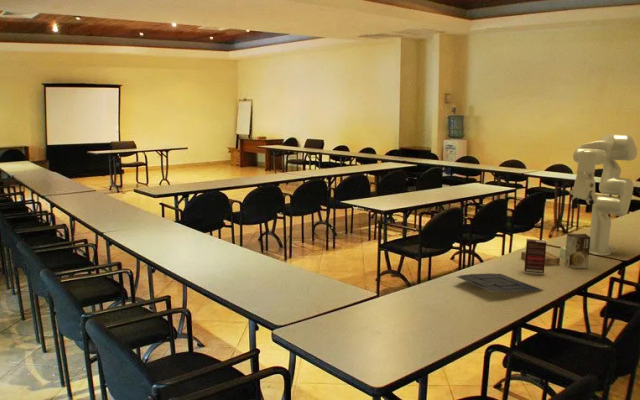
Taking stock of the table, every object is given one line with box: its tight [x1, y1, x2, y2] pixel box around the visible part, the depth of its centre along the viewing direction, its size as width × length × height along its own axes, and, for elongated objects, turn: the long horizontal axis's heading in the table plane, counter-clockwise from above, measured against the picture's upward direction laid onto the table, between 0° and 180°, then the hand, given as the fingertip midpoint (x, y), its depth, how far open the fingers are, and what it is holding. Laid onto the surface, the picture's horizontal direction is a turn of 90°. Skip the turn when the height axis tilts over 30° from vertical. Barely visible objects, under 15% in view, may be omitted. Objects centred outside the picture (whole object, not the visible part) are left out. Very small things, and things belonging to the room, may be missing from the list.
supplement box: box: [523, 238, 547, 276], centre depth 242 cm, size 9×5×16 cm, turn 71°
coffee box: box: [563, 233, 590, 269], centre depth 253 cm, size 9×6×16 cm
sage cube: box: [559, 246, 566, 260], centre depth 268 cm, size 5×5×5 cm
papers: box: [456, 272, 543, 293], centre depth 223 cm, size 24×30×4 cm
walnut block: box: [520, 251, 561, 267], centre depth 261 cm, size 13×13×4 cm
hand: (581, 210), depth 249 cm, fingers open, 9 cm apart
